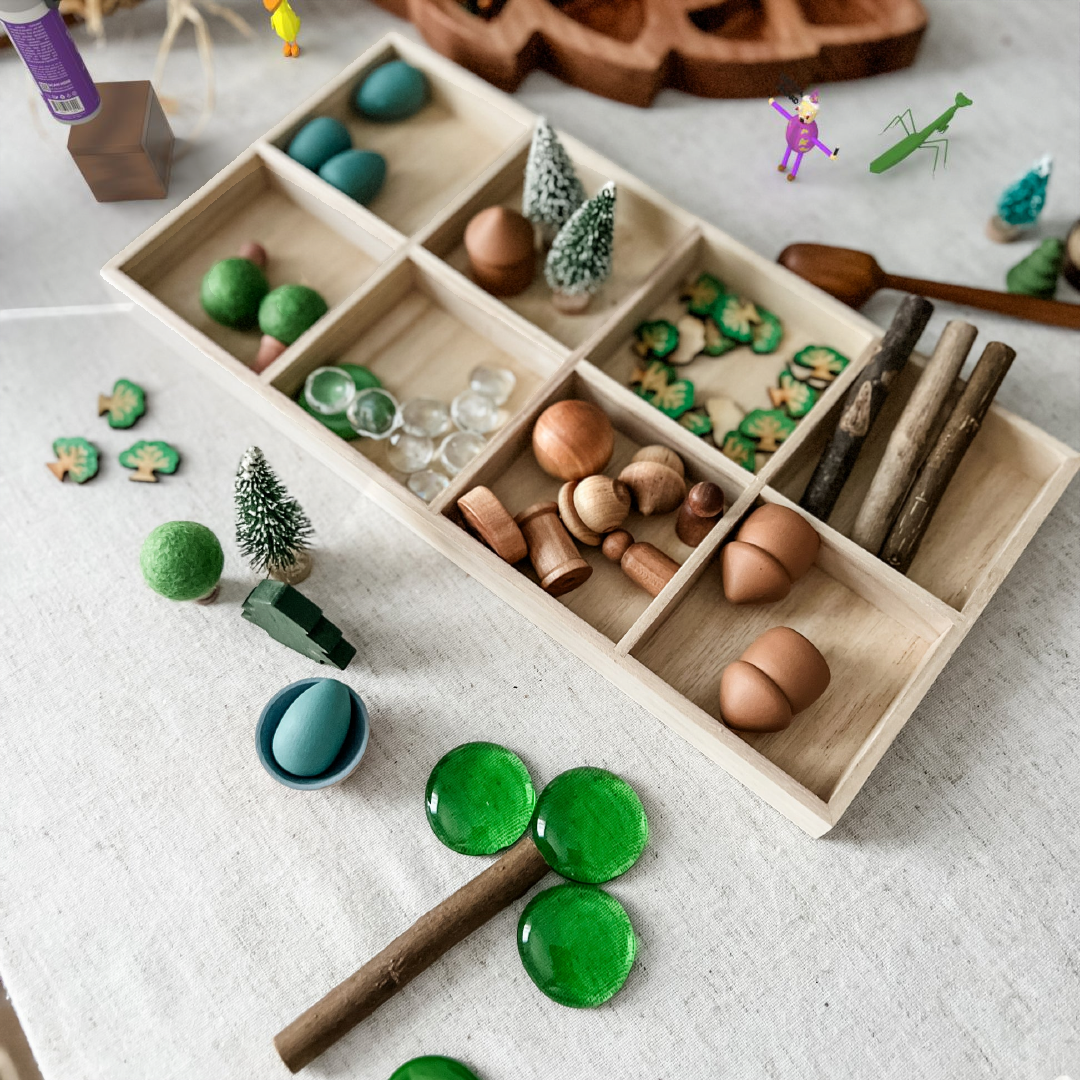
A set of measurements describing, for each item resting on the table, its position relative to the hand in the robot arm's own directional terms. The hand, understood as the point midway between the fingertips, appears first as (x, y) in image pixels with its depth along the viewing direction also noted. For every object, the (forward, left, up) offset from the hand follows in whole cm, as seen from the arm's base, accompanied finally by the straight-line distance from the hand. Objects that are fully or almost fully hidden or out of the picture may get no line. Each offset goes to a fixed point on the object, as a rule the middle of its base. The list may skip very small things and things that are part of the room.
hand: (22, 2), depth 77 cm
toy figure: (+13, +33, -31) cm, 48 cm away
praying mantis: (+88, +10, -31) cm, 94 cm away
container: (0, 0, -11) cm, 11 cm away
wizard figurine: (+73, +8, -31) cm, 80 cm away
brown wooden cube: (-4, +14, -31) cm, 34 cm away
